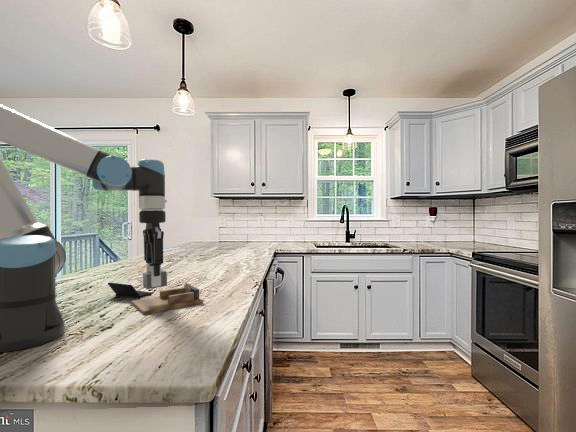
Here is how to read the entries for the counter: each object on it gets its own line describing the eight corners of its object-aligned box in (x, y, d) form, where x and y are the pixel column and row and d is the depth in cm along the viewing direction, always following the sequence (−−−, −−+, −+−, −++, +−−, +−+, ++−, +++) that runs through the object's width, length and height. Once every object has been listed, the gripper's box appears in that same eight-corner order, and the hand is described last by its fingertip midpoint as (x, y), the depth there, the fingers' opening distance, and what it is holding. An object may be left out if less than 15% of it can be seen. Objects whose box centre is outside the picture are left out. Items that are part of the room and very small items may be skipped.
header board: (143, 314, 90) (143, 296, 90) (131, 303, 101) (131, 287, 100) (203, 303, 101) (203, 286, 101) (186, 294, 112) (186, 279, 112)
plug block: (146, 289, 95) (146, 274, 95) (143, 287, 98) (142, 272, 98) (167, 285, 99) (166, 271, 99) (163, 283, 102) (162, 269, 102)
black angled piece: (155, 288, 115) (141, 270, 109) (146, 305, 109) (131, 286, 103) (128, 291, 117) (113, 273, 111) (118, 307, 111) (102, 289, 106)
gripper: (174, 209, 93) (175, 288, 94) (156, 210, 107) (157, 279, 107) (147, 209, 89) (149, 292, 89) (132, 210, 102) (134, 282, 102)
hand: (153, 284), depth 98 cm, fingers closed on plug block, 4 cm apart
